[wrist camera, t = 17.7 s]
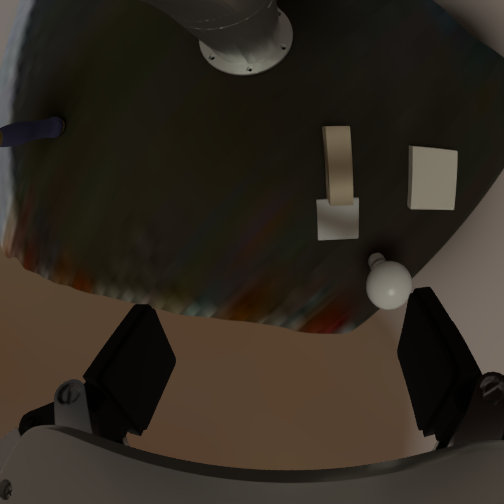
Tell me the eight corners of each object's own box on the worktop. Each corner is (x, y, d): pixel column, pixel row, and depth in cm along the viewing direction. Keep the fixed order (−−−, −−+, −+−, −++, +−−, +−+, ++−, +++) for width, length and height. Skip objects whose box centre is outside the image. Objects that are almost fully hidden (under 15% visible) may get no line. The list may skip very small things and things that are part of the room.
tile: (412, 146, 31) (410, 209, 34) (457, 151, 29) (453, 209, 33) (407, 145, 32) (406, 205, 36) (451, 149, 31) (448, 206, 35)
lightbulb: (352, 275, 42) (366, 319, 32) (359, 238, 39) (378, 275, 29) (389, 277, 41) (410, 319, 31) (397, 241, 38) (424, 277, 28)
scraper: (310, 127, 33) (312, 126, 30) (354, 126, 32) (361, 126, 29) (317, 238, 40) (320, 250, 36) (357, 236, 39) (363, 247, 35)
